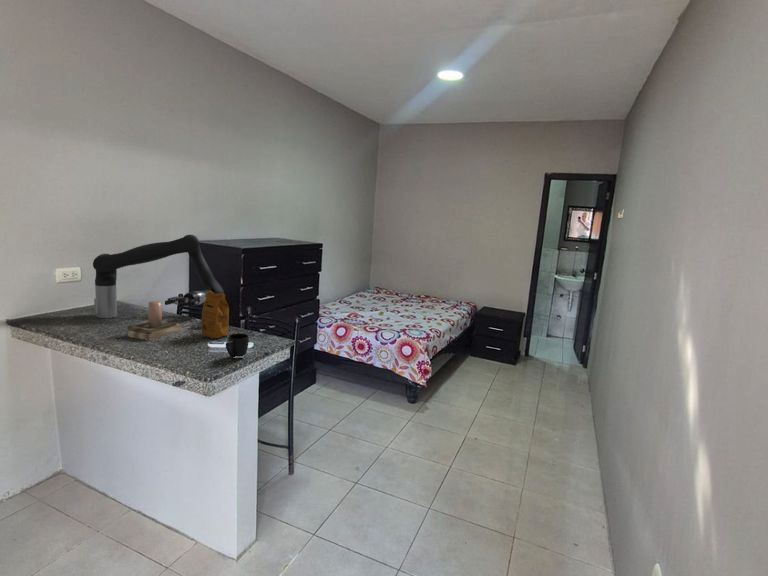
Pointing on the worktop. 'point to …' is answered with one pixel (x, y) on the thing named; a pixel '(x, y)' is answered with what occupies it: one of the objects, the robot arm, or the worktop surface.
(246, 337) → the mug
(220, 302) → the coffee package
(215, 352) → the worktop surface
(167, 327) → the wooden tray
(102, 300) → the robot arm
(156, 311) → the canister
